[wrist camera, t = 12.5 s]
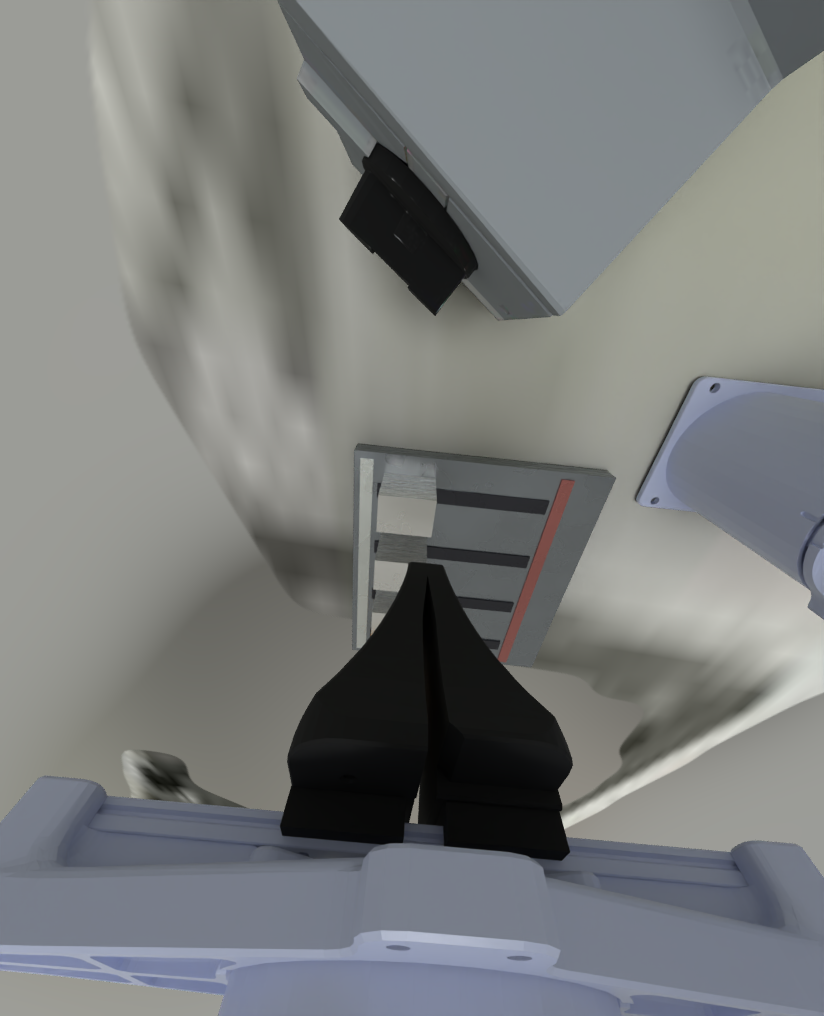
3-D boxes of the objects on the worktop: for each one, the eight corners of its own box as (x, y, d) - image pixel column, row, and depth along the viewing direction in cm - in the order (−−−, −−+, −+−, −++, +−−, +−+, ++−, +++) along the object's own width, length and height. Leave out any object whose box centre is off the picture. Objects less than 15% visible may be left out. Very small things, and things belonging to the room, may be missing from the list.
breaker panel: (606, 470, 21) (645, 501, 17) (527, 655, 30) (541, 701, 26) (357, 443, 21) (342, 469, 17) (354, 638, 30) (344, 682, 26)
